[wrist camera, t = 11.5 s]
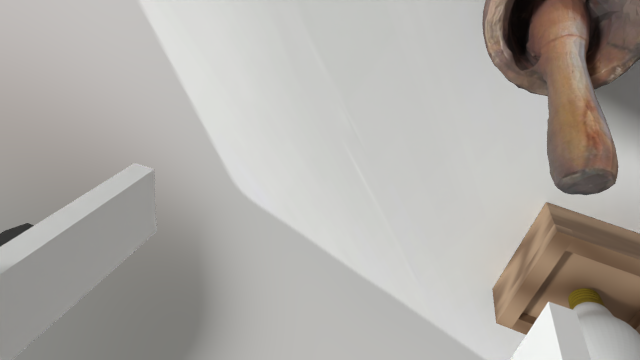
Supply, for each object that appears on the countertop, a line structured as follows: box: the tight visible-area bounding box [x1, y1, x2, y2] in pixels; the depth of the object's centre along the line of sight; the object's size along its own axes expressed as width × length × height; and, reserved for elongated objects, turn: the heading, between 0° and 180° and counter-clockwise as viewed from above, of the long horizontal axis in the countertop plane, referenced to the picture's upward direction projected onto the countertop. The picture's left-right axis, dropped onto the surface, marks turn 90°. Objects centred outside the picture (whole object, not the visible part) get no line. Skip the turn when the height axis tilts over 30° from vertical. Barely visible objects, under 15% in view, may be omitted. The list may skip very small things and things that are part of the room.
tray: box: [493, 202, 640, 335], centre depth 40 cm, size 12×12×5 cm
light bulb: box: [568, 288, 640, 360], centre depth 35 cm, size 6×6×10 cm
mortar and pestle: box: [483, 0, 640, 195], centre depth 25 cm, size 12×9×20 cm
